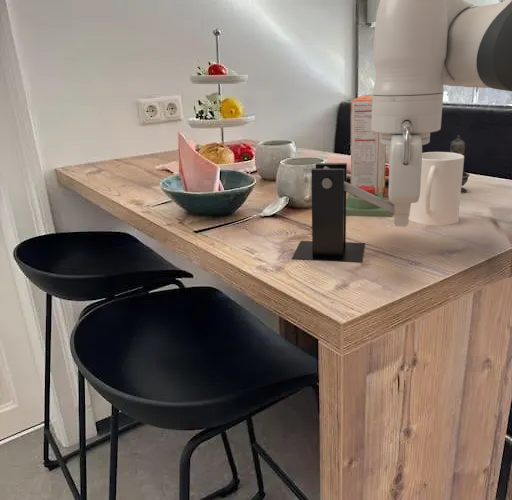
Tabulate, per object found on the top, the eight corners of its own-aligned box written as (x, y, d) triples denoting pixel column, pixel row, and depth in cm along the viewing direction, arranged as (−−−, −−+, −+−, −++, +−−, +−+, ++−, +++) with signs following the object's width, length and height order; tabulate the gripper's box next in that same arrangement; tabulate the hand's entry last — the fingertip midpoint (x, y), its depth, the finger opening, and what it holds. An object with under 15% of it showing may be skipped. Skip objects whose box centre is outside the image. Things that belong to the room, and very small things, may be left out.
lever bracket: (364, 250, 77) (367, 161, 73) (361, 269, 70) (364, 172, 65) (300, 247, 80) (299, 161, 75) (291, 266, 73) (289, 172, 68)
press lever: (401, 216, 73) (409, 202, 72) (401, 227, 68) (410, 211, 67) (319, 178, 74) (326, 163, 73) (314, 186, 69) (321, 170, 68)
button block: (391, 210, 97) (392, 190, 96) (391, 222, 90) (392, 201, 88) (340, 209, 100) (340, 189, 98) (335, 221, 92) (336, 200, 91)
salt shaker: (441, 187, 113) (445, 133, 109) (469, 188, 110) (474, 133, 106) (437, 193, 108) (442, 136, 104) (467, 194, 106) (472, 137, 101)
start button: (375, 194, 95) (375, 185, 94) (374, 199, 91) (374, 190, 91) (355, 194, 96) (356, 185, 95) (354, 199, 92) (354, 190, 92)
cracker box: (358, 190, 114) (360, 94, 107) (385, 191, 112) (389, 93, 105) (348, 206, 101) (349, 99, 94) (378, 207, 99) (382, 98, 92)
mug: (446, 240, 80) (453, 165, 76) (394, 232, 84) (398, 162, 80) (464, 220, 89) (471, 152, 85) (416, 215, 93) (420, 150, 89)
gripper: (437, 125, 55) (429, 243, 60) (426, 109, 74) (420, 200, 79) (379, 126, 57) (375, 241, 62) (382, 110, 75) (379, 199, 80)
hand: (400, 218), depth 70 cm, fingers closed on press lever, 5 cm apart
